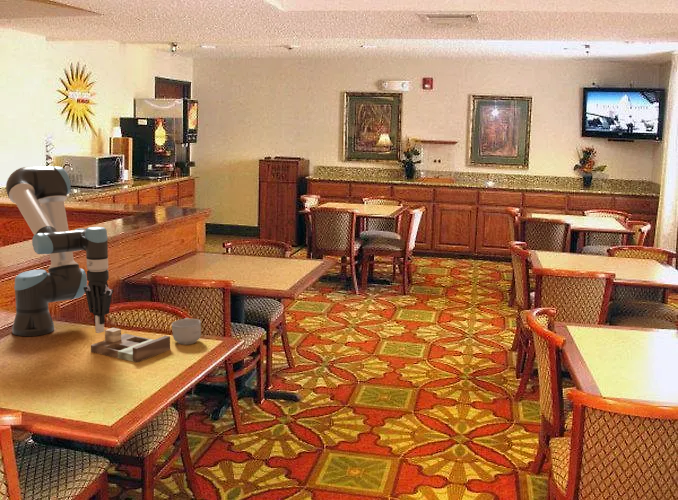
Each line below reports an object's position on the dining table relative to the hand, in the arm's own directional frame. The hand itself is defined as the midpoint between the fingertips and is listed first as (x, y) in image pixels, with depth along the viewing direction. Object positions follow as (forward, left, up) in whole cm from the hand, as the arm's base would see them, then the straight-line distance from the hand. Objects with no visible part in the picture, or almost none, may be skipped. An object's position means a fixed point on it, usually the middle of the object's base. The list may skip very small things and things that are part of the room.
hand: (99, 332), depth 279 cm
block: (+6, 0, -2) cm, 7 cm away
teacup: (+24, +20, -5) cm, 32 cm away
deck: (+15, 0, -5) cm, 16 cm away
